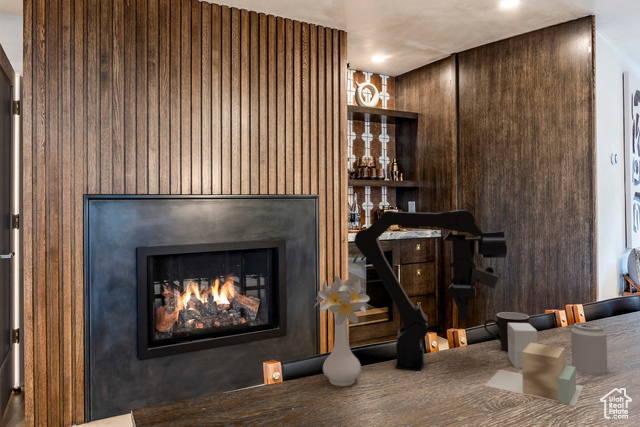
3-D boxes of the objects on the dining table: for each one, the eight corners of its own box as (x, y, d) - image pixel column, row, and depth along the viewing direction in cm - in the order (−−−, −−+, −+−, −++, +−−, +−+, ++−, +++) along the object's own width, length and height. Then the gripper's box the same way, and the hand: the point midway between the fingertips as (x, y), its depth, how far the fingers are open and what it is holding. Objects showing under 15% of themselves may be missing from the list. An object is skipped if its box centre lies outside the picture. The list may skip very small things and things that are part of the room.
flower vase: (329, 402, 96) (327, 287, 95) (309, 372, 113) (307, 275, 113) (385, 394, 99) (382, 283, 99) (356, 366, 117) (354, 272, 117)
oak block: (522, 393, 96) (522, 351, 96) (531, 381, 102) (530, 342, 102) (558, 400, 91) (558, 357, 91) (565, 388, 98) (564, 347, 98)
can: (602, 369, 111) (601, 321, 111) (611, 380, 104) (610, 329, 104) (569, 366, 114) (568, 320, 114) (575, 376, 107) (574, 327, 106)
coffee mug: (531, 348, 129) (531, 314, 129) (527, 356, 122) (526, 320, 122) (489, 342, 135) (489, 309, 135) (483, 350, 128) (483, 316, 128)
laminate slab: (484, 389, 100) (484, 385, 100) (499, 373, 110) (499, 369, 110) (575, 410, 89) (575, 405, 89) (583, 390, 99) (583, 386, 99)
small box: (538, 372, 110) (538, 330, 110) (514, 371, 111) (514, 330, 111) (530, 361, 118) (529, 322, 117) (508, 360, 119) (507, 322, 119)
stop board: (558, 401, 91) (558, 377, 91) (565, 387, 98) (565, 365, 98) (569, 404, 90) (569, 380, 90) (576, 389, 97) (575, 366, 97)
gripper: (497, 263, 102) (498, 330, 102) (495, 254, 119) (497, 312, 119) (447, 262, 106) (449, 327, 106) (453, 254, 123) (454, 309, 123)
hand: (464, 318), depth 113 cm, fingers closed
